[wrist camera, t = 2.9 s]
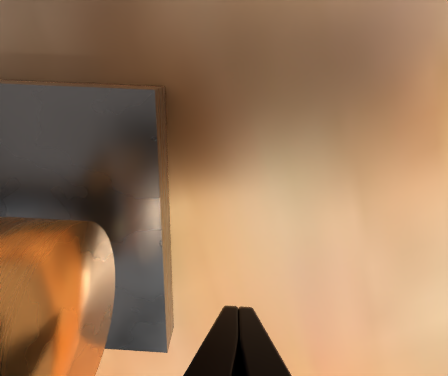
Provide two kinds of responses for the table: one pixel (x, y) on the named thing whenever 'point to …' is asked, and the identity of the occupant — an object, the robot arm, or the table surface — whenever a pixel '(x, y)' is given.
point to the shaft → (54, 296)
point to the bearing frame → (98, 186)
